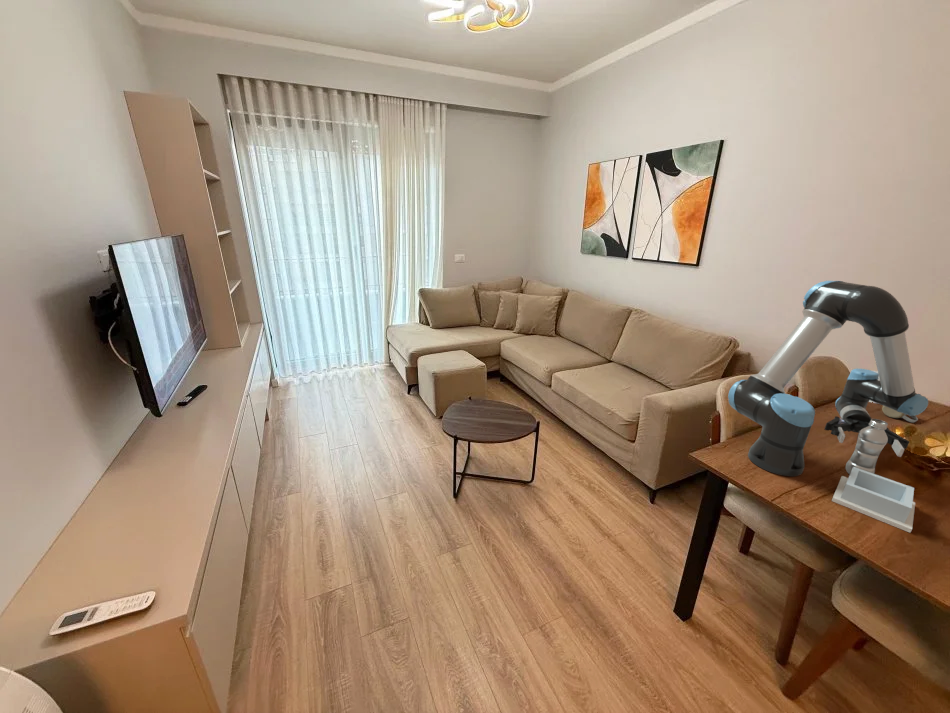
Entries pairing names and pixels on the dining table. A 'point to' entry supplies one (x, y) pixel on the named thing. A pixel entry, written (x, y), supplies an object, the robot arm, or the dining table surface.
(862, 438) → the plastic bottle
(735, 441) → the dining table surface
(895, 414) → the ceramic mug
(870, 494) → the box
